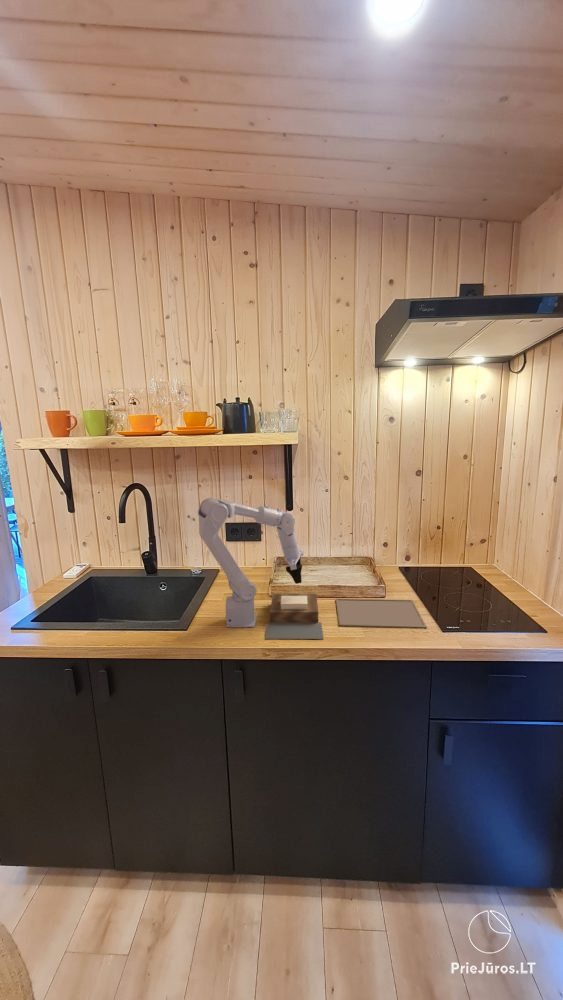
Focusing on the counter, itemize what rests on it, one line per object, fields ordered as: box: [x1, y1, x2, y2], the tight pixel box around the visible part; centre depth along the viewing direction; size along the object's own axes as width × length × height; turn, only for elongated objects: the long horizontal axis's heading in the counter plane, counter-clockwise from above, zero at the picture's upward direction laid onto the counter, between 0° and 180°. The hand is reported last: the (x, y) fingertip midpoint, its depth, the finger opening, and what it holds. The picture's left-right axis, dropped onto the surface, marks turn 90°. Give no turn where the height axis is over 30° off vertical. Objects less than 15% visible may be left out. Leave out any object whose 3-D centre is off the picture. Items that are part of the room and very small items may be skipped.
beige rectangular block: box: [281, 596, 308, 609], centre depth 138 cm, size 9×6×2 cm, turn 88°
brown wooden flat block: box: [269, 593, 319, 622], centre depth 141 cm, size 16×14×4 cm
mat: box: [264, 621, 324, 641], centre depth 130 cm, size 18×10×1 cm, turn 88°
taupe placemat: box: [335, 598, 428, 629], centre depth 140 cm, size 19×1×28 cm
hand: (298, 577), depth 144 cm, fingers open, 7 cm apart
